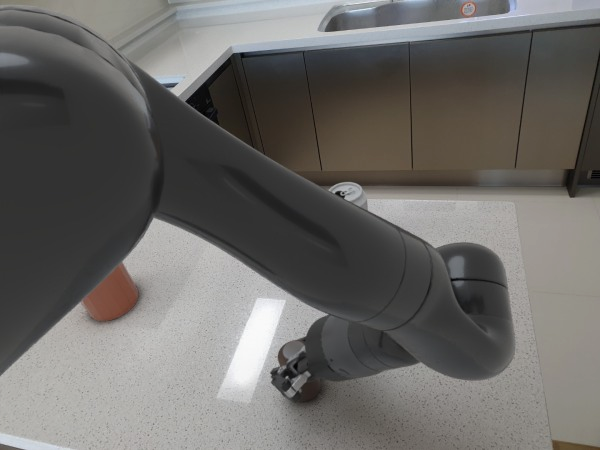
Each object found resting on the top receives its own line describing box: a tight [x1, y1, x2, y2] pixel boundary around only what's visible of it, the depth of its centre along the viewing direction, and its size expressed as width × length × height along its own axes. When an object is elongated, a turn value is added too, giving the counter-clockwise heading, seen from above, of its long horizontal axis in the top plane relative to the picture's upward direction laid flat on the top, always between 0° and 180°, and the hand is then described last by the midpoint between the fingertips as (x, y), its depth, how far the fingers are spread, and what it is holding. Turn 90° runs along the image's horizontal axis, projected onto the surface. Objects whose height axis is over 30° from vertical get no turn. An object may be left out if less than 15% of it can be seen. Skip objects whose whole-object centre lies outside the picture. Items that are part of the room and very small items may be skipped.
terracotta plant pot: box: [80, 261, 140, 322], centre depth 85 cm, size 13×9×10 cm
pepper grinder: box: [277, 339, 322, 403], centre depth 63 cm, size 5×5×8 cm
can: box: [328, 181, 369, 211], centre depth 85 cm, size 8×8×12 cm
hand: (288, 361), depth 64 cm, fingers closed on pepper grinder, 4 cm apart
